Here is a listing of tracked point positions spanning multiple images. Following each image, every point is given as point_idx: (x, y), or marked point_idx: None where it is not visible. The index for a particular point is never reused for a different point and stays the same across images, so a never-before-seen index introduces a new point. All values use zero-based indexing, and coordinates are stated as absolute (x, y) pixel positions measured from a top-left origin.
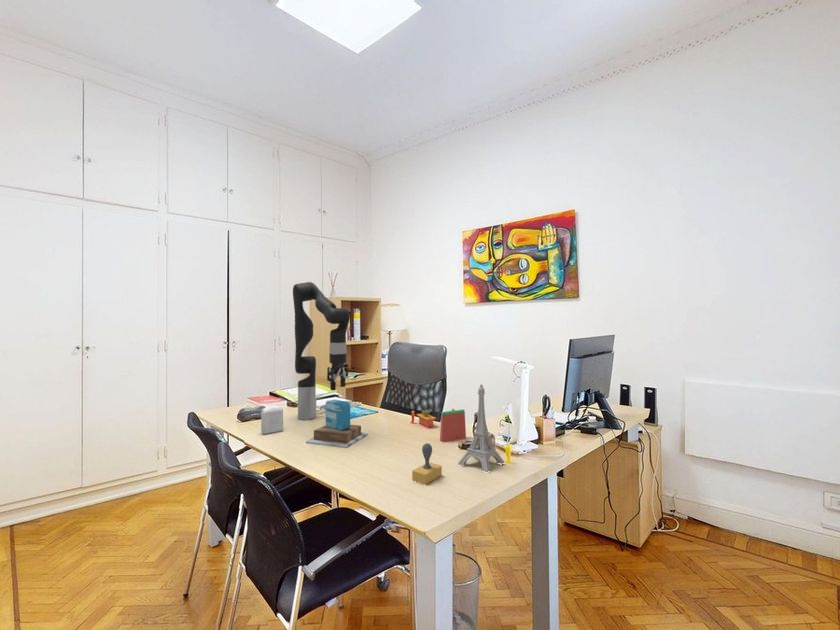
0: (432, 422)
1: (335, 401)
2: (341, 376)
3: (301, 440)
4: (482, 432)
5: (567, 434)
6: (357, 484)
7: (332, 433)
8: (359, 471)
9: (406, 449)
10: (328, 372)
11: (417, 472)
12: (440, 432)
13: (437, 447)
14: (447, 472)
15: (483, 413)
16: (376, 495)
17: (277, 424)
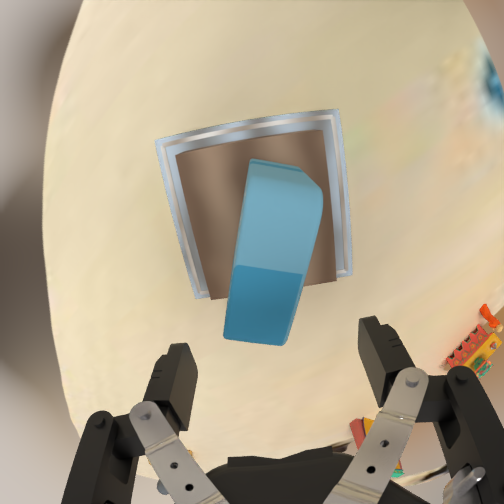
0: None
1: (260, 268)
2: (400, 399)
3: (172, 99)
4: None
5: (420, 473)
6: (84, 398)
7: (197, 244)
8: (113, 385)
9: (272, 404)
10: (75, 492)
11: (147, 458)
12: (360, 433)
13: (312, 431)
14: (206, 462)
15: None
16: (86, 422)
17: None
